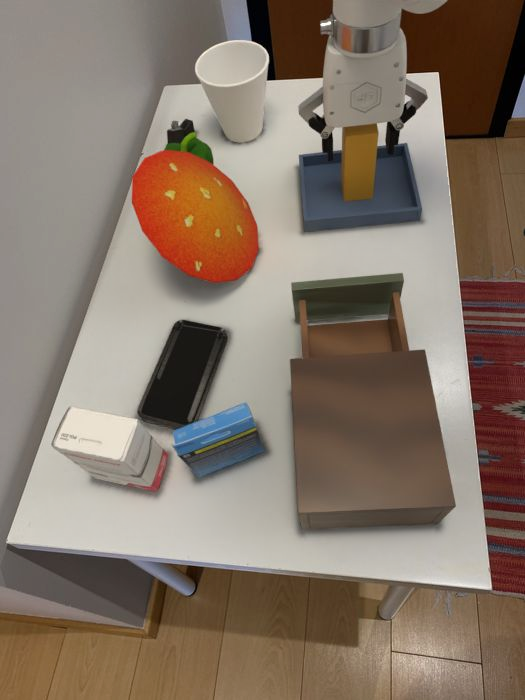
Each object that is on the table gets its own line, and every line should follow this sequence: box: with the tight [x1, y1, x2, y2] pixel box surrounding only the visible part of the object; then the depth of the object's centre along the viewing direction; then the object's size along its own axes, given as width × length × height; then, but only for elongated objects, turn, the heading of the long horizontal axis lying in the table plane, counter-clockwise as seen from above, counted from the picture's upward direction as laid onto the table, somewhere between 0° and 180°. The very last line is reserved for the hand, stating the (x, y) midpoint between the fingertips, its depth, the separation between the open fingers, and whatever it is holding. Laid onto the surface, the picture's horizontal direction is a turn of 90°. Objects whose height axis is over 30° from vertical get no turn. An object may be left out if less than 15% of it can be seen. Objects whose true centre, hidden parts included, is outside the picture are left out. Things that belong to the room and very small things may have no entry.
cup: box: [194, 39, 270, 144], centre depth 85 cm, size 12×12×12 cm
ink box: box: [50, 406, 169, 492], centre depth 58 cm, size 9×5×12 cm, turn 77°
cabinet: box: [289, 348, 457, 531], centre depth 56 cm, size 17×15×9 cm
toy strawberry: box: [131, 149, 260, 284], centre depth 72 cm, size 15×21×15 cm
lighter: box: [166, 118, 196, 145], centre depth 89 cm, size 8×2×5 cm
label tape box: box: [170, 401, 266, 478], centre depth 57 cm, size 9×4×12 cm, turn 110°
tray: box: [298, 142, 423, 233], centre depth 79 cm, size 17×14×2 cm
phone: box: [136, 319, 229, 430], centre depth 68 cm, size 8×1×15 cm
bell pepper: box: [163, 131, 215, 166], centre depth 80 cm, size 8×8×10 cm
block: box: [341, 123, 380, 202], centre depth 75 cm, size 4×4×12 cm
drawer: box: [290, 272, 410, 358], centre depth 62 cm, size 17×14×7 cm
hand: (359, 151), depth 73 cm, fingers open, 8 cm apart
